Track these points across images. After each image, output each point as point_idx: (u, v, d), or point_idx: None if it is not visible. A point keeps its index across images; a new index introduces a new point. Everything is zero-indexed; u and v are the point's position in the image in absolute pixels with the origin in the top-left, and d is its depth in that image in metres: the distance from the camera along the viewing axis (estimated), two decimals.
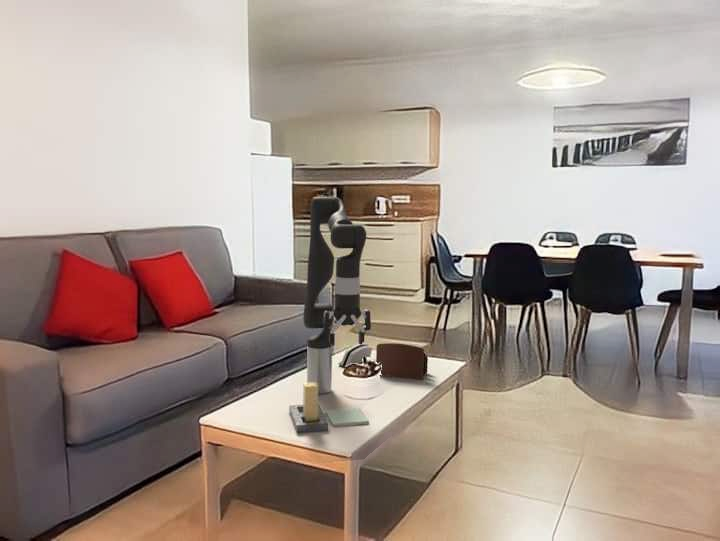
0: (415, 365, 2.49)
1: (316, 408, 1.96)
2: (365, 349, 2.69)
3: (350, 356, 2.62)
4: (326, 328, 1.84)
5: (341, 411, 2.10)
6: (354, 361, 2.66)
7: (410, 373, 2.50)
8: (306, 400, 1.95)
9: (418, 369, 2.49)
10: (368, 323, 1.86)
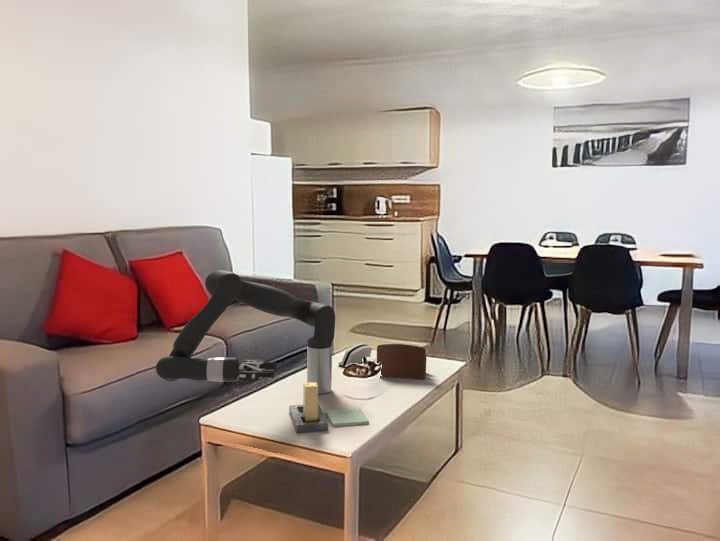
0: (417, 365, 2.49)
1: (316, 408, 1.96)
2: (365, 349, 2.69)
3: (350, 356, 2.62)
4: None
5: (341, 411, 2.10)
6: (354, 361, 2.66)
7: (412, 373, 2.50)
8: (306, 400, 1.95)
9: (419, 368, 2.49)
10: None
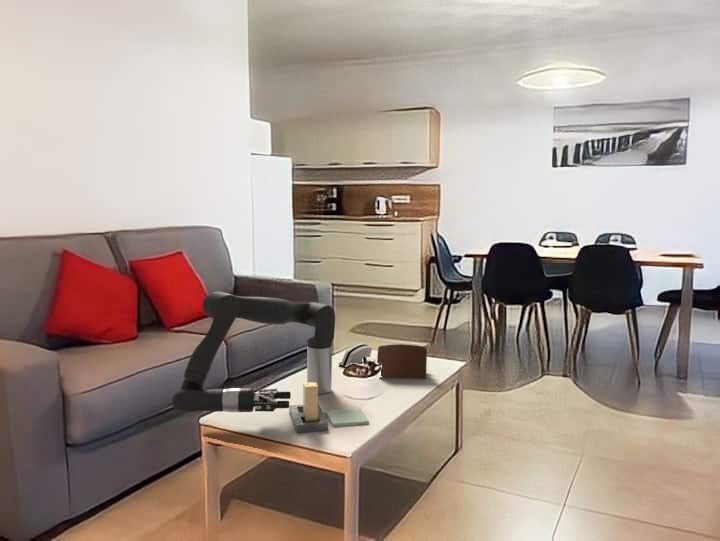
0: (419, 364, 2.50)
1: (316, 408, 1.96)
2: (365, 349, 2.69)
3: (350, 356, 2.62)
4: None
5: (341, 411, 2.10)
6: (354, 361, 2.66)
7: (413, 373, 2.50)
8: (306, 400, 1.95)
9: (421, 368, 2.50)
10: None
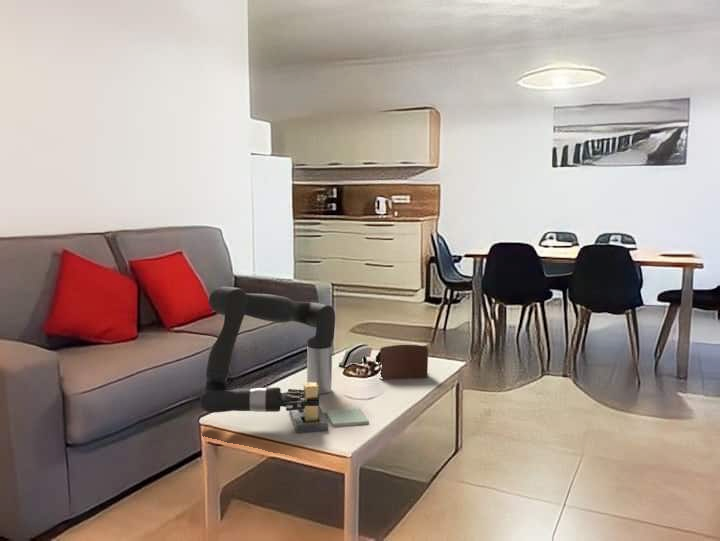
0: (420, 364, 2.51)
1: (316, 408, 1.96)
2: (365, 349, 2.69)
3: (350, 356, 2.62)
4: None
5: (341, 411, 2.10)
6: (354, 361, 2.66)
7: (415, 373, 2.51)
8: None
9: (422, 367, 2.51)
10: None
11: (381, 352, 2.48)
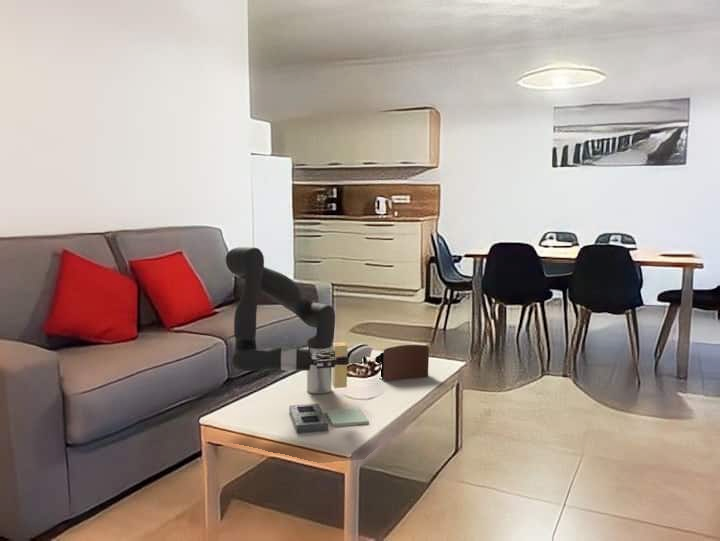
0: (421, 363, 2.52)
1: (345, 367, 2.01)
2: (365, 349, 2.69)
3: (351, 356, 2.62)
4: None
5: (341, 411, 2.10)
6: (355, 361, 2.66)
7: (417, 373, 2.51)
8: None
9: (424, 367, 2.52)
10: None
11: (385, 353, 2.46)
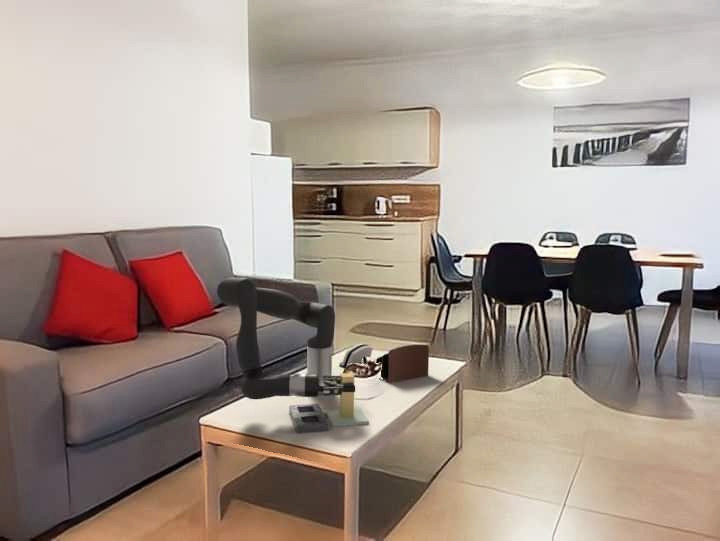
0: (422, 363, 2.53)
1: (352, 398, 2.04)
2: (366, 349, 2.69)
3: (351, 356, 2.62)
4: None
5: None
6: (355, 361, 2.66)
7: (418, 372, 2.52)
8: None
9: (424, 366, 2.53)
10: None
11: (390, 355, 2.44)
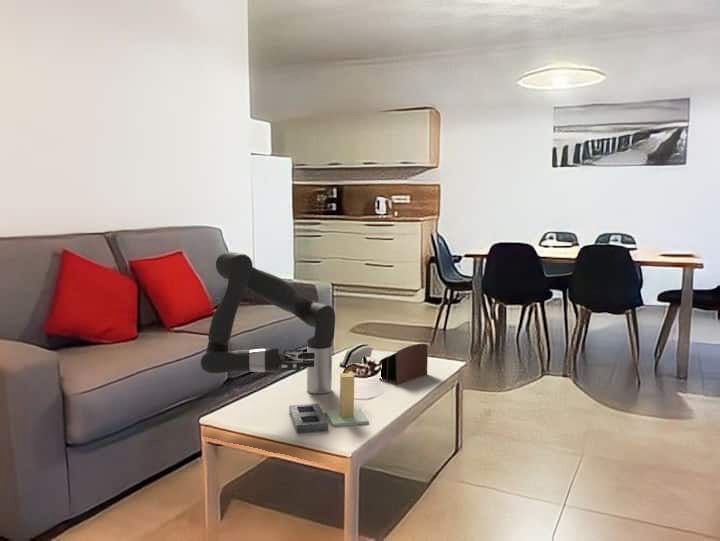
0: (423, 362, 2.54)
1: (352, 398, 2.04)
2: (366, 349, 2.69)
3: (351, 356, 2.62)
4: None
5: None
6: (355, 361, 2.66)
7: (419, 372, 2.53)
8: (343, 390, 2.03)
9: (424, 364, 2.55)
10: None
11: (397, 356, 2.42)
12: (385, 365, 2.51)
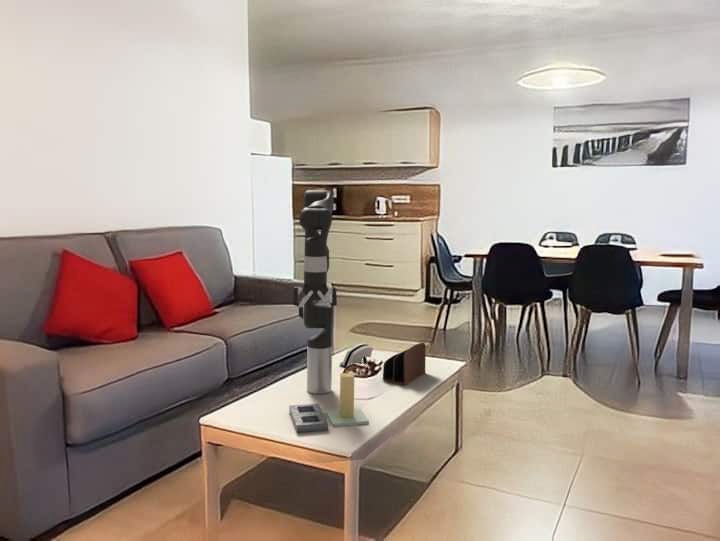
0: (422, 361, 2.55)
1: (352, 398, 2.04)
2: (366, 349, 2.69)
3: (352, 356, 2.62)
4: (295, 302, 2.03)
5: None
6: (355, 361, 2.66)
7: (420, 371, 2.54)
8: (343, 390, 2.03)
9: (423, 363, 2.56)
10: (334, 299, 2.04)
11: (405, 357, 2.41)
12: (388, 367, 2.49)
